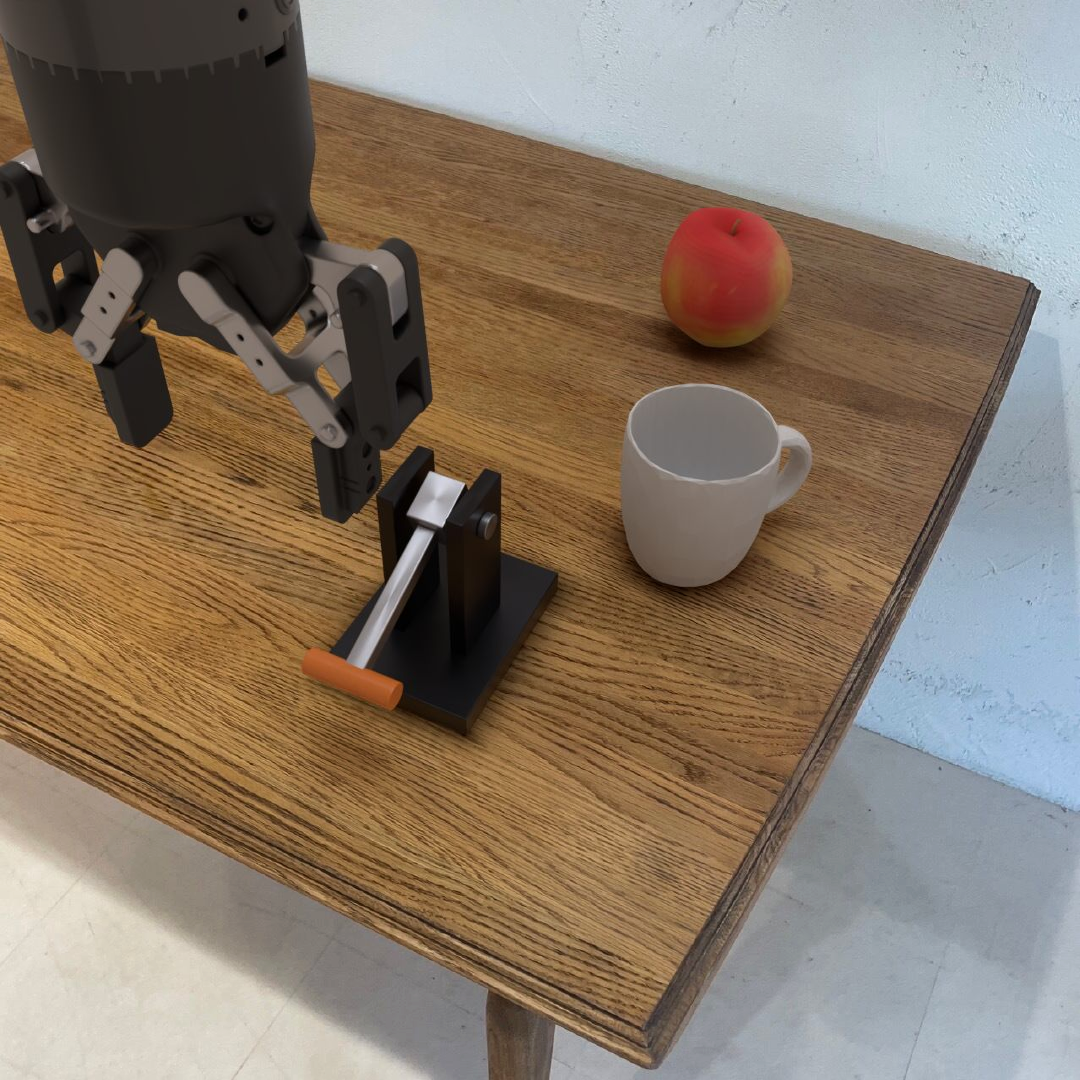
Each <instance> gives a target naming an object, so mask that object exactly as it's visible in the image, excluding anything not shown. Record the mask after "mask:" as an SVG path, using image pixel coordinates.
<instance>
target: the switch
mask: <svg viewBox="0 0 1080 1080" xmlns="http://www.w3.org/2000/svg"><path fill="white" fill-rule="evenodd" d="M468 490H469V488H468V485H467V483H466V482H464V481H461V480H458V479H455V478H453V477H449V476H446V475H444V474H441V473H438V472H436V471H435V472H432V471H429V472H428V474H427V476H426V478H425V480H424V481H423V483H422V485H421V487H420V489H419V491H418V493H417V495H416V496H415V498H414V500H413V502H412V504H411V506H410V508H409V510H408V511H407V513H406V516H407V518H408V520H409V522H410V524H411V526H412V528H413V529H414V533H413V535H412V537H411V539H410V540H409V542H408V544H407V546H406V548H405V550H404V552H403V554H402V556H401V557H400V559H399V561H398V563H397V565H396V567H395V569H394V571H393V573H392V575H391V576H390V578H389V580H388V582H387V584H386V586H385V588H384V590H383V592H382V593H381V595H380V597H379V599H378V601H377V603H376V605H375V607H374V609H373V611H372V612H371V614H370V616H369V618H368V620H367V622H366V624H365V626H364V628H363V629H362V631H361V633H360V635H359V637H358V639H357V641H356V643H355V645H354V647H353V648H352V650H351V652H350V654H349V656H348V658H347V660H345V659H343V658H340V657H338V656H336V655H333V654H331V653H329V652H328V651H326V650H324V649H321V648H318V647H316V646H315V647H314V646H313V647H311V648H309V650H308V651H307V652H306V653H305V655H304V657H303V660H302V663H301V673H302V674H303V675H305V676H308V677H310V678H312V679H315V680H317V681H319V682H322V683H324V684H327V685H329V686H332V687H334V688H336V689H339V690H341V691H343V692H346V693H348V694H351V695H353V696H355V697H357V698H360V699H362V700H365V701H367V702H369V703H372V704H374V705H377V706H379V707H382V708H384V709H386V710H388V711H391V710H394V709H395V708H396V705H397V704H398V702H399V700H400V698H401V695H402V691H403V684H402V683H401V682H399V681H397V680H394V679H392V678H389V677H387V676H384V675H382V674H379V673H377V672H375V671H372V668H373V666H374V664H375V662H376V660H377V658H378V656H379V655H380V653H381V651H382V649H383V647H384V645H385V643H386V641H387V639H388V637H389V635H390V633H391V631H392V629H393V627H394V626H395V624H396V622H397V620H398V618H399V616H400V614H401V612H402V610H403V608H404V606H405V604H406V602H407V600H408V598H409V597H410V595H411V593H412V591H413V589H414V587H415V585H416V583H417V581H418V579H419V577H420V575H421V573H422V571H423V569H424V568H425V566H426V564H427V562H428V560H429V558H430V556H431V554H432V552H433V550H434V548H435V546H436V544H437V542H438V543H441V544H444V545H446V527H445V520H446V518H447V517H448V516H449V515H450V513H451V512H452V511H453V509H454V508H455V507H456V505H457V504H458V503H459V501H460V500H461V499H462V497H463V496H464V495H465V494H466V492H467V491H468Z"/></svg>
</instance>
